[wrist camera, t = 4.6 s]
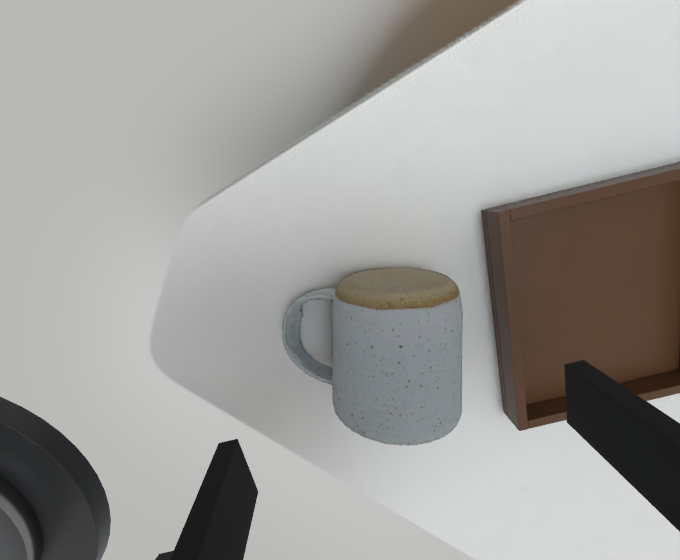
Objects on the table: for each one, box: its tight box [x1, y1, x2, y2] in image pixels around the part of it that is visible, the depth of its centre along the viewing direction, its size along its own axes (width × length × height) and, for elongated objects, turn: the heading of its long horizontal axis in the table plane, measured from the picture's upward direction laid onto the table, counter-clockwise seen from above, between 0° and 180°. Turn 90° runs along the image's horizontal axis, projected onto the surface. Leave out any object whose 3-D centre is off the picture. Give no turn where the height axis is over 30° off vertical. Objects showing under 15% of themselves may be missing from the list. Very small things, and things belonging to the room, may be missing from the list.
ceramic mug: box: [283, 268, 462, 445], centre depth 19 cm, size 11×8×8 cm
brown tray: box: [482, 162, 680, 431], centre depth 22 cm, size 14×16×2 cm
